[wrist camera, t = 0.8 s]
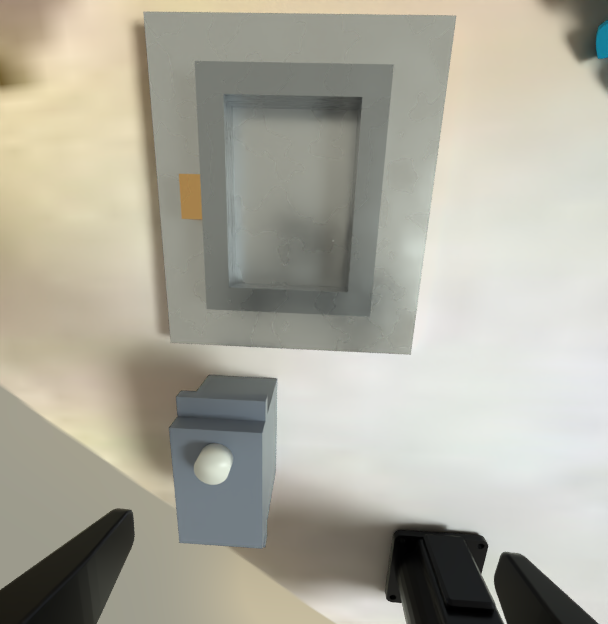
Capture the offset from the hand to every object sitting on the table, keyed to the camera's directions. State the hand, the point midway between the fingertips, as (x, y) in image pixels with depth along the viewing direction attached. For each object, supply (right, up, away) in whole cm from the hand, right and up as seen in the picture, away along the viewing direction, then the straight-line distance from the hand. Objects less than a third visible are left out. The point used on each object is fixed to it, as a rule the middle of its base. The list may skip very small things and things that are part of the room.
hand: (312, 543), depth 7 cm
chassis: (-1, +11, +9) cm, 15 cm away
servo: (-4, -2, +13) cm, 14 cm away
